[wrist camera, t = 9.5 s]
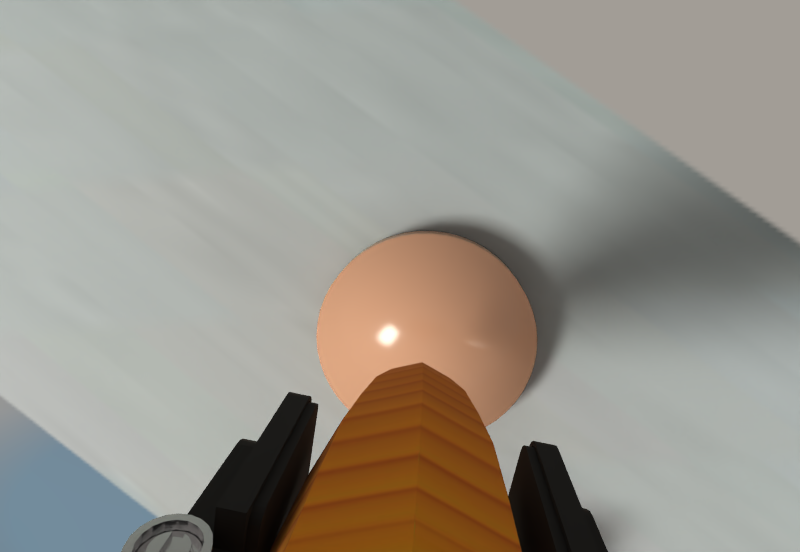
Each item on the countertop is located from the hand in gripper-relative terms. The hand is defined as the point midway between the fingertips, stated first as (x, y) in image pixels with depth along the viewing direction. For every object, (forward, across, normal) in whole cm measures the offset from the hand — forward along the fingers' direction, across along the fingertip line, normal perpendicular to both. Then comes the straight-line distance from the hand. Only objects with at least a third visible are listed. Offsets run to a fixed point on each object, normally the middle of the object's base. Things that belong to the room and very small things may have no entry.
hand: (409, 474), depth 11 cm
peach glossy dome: (+9, 0, 0) cm, 9 cm away
